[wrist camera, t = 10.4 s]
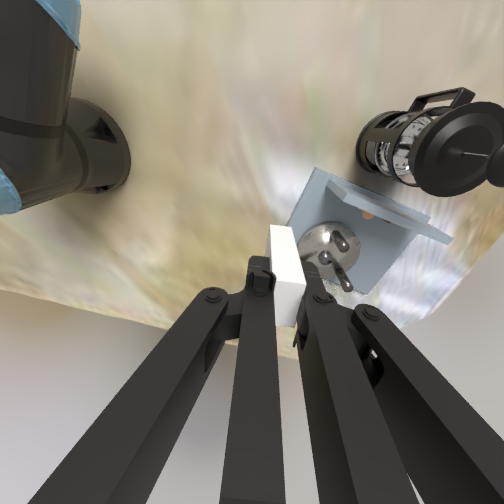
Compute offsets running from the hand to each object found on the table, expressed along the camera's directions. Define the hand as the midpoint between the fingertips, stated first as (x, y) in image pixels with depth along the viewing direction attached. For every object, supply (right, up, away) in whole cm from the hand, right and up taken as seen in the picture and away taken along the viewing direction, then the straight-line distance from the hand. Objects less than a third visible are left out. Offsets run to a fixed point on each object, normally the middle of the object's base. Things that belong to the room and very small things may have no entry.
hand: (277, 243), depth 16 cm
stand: (+17, +2, +30) cm, 35 cm away
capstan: (+13, 0, +30) cm, 33 cm away
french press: (+21, +18, +22) cm, 35 cm away
